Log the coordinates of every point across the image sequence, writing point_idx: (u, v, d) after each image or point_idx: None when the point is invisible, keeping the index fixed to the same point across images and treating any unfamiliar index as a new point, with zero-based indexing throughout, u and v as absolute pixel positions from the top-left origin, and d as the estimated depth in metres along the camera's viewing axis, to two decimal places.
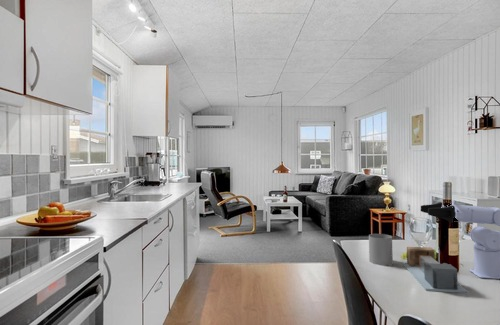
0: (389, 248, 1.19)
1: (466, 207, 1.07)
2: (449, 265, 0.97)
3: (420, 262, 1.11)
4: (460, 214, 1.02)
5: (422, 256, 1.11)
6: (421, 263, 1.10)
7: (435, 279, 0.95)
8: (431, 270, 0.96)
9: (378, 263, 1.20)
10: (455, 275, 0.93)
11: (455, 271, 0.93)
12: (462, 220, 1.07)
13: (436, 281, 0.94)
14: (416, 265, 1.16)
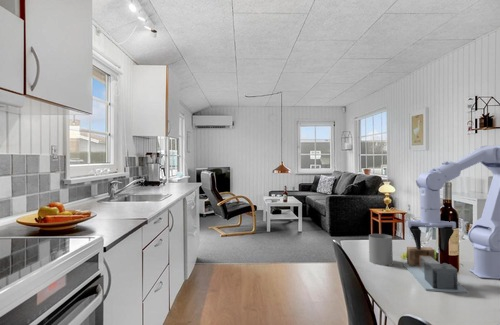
0: (389, 248, 1.19)
1: (438, 213, 1.03)
2: (449, 265, 0.97)
3: (420, 262, 1.11)
4: None
5: (422, 256, 1.11)
6: (421, 263, 1.10)
7: (435, 279, 0.95)
8: (431, 270, 0.96)
9: (378, 263, 1.20)
10: (455, 275, 0.93)
11: (455, 271, 0.93)
12: None
13: (436, 281, 0.94)
14: (416, 265, 1.16)
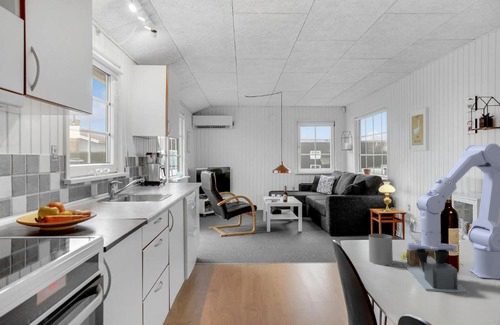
0: (389, 248, 1.19)
1: (438, 236, 1.03)
2: (449, 265, 0.97)
3: (420, 262, 1.11)
4: None
5: None
6: None
7: (435, 279, 0.95)
8: (431, 270, 0.96)
9: (378, 263, 1.20)
10: (455, 275, 0.93)
11: (455, 271, 0.93)
12: None
13: (436, 281, 0.94)
14: (416, 265, 1.16)
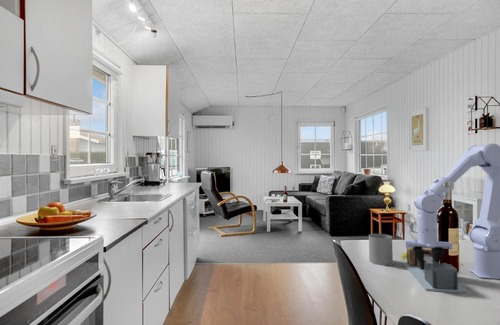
0: (389, 248, 1.19)
1: (435, 234, 1.06)
2: (449, 265, 0.97)
3: (417, 260, 1.14)
4: None
5: None
6: None
7: (435, 279, 0.95)
8: (431, 270, 0.96)
9: (378, 263, 1.20)
10: (455, 275, 0.93)
11: (455, 271, 0.93)
12: None
13: (436, 281, 0.94)
14: (416, 265, 1.16)
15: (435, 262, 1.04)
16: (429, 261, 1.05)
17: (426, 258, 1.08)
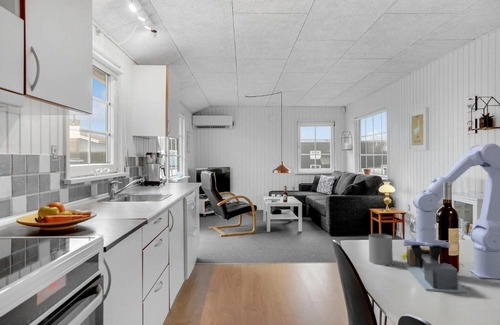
0: (389, 248, 1.19)
1: (433, 233, 1.08)
2: (449, 265, 0.97)
3: None
4: None
5: None
6: None
7: (435, 279, 0.95)
8: (431, 270, 0.96)
9: (378, 263, 1.20)
10: (455, 275, 0.93)
11: (455, 271, 0.93)
12: None
13: (436, 281, 0.94)
14: (416, 265, 1.16)
15: (433, 260, 1.06)
16: (427, 259, 1.07)
17: (424, 256, 1.10)
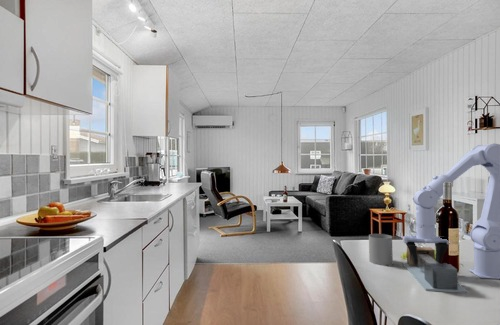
0: (389, 248, 1.19)
1: (433, 229, 1.08)
2: (449, 265, 0.97)
3: None
4: None
5: (418, 252, 1.16)
6: (417, 259, 1.15)
7: (435, 279, 0.95)
8: (431, 270, 0.96)
9: (378, 263, 1.20)
10: (455, 275, 0.93)
11: (455, 271, 0.93)
12: None
13: (436, 281, 0.94)
14: (416, 265, 1.16)
15: (433, 260, 1.06)
16: (427, 259, 1.07)
17: (424, 256, 1.10)
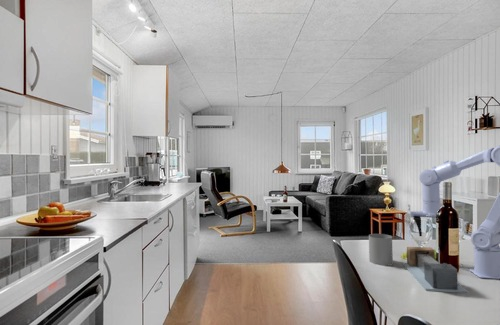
0: (389, 248, 1.19)
1: (436, 205, 1.19)
2: (449, 265, 0.97)
3: (416, 258, 1.16)
4: None
5: (418, 252, 1.16)
6: (417, 259, 1.15)
7: (435, 279, 0.95)
8: (431, 270, 0.96)
9: (378, 263, 1.20)
10: (455, 275, 0.93)
11: (455, 271, 0.93)
12: None
13: (436, 281, 0.94)
14: (416, 265, 1.16)
15: (433, 260, 1.06)
16: (427, 259, 1.07)
17: (424, 256, 1.10)
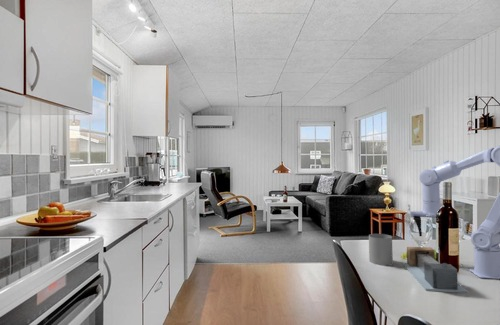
0: (389, 248, 1.19)
1: (436, 205, 1.19)
2: (449, 265, 0.97)
3: (416, 258, 1.16)
4: None
5: (418, 252, 1.16)
6: (417, 259, 1.15)
7: (435, 279, 0.95)
8: (431, 270, 0.96)
9: (378, 263, 1.20)
10: (455, 275, 0.93)
11: (455, 271, 0.93)
12: None
13: (436, 281, 0.94)
14: (416, 265, 1.16)
15: (433, 260, 1.06)
16: (427, 259, 1.07)
17: (424, 256, 1.10)
